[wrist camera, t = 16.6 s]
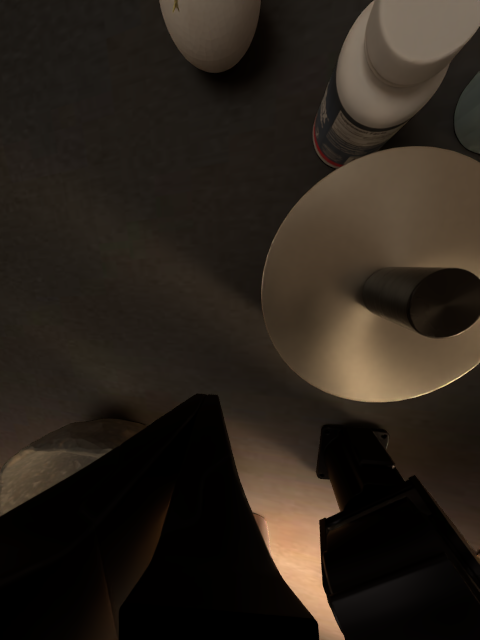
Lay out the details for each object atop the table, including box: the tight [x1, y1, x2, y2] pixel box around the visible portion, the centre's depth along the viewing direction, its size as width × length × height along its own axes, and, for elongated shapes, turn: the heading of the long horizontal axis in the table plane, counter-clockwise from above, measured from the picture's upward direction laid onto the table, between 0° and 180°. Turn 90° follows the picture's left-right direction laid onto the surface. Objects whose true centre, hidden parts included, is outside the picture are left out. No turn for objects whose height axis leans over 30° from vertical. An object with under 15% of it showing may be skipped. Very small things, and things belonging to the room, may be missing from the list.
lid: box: [261, 146, 480, 402], centre depth 9 cm, size 12×12×5 cm
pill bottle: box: [313, 0, 480, 169], centre depth 12 cm, size 5×5×9 cm
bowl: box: [0, 418, 147, 516], centre depth 22 cm, size 18×18×8 cm
